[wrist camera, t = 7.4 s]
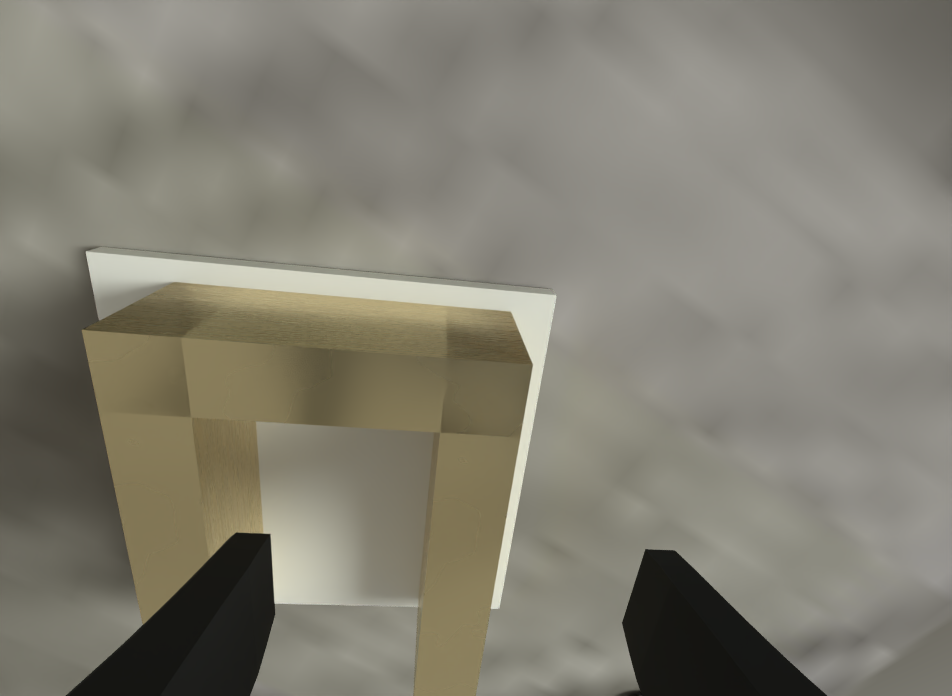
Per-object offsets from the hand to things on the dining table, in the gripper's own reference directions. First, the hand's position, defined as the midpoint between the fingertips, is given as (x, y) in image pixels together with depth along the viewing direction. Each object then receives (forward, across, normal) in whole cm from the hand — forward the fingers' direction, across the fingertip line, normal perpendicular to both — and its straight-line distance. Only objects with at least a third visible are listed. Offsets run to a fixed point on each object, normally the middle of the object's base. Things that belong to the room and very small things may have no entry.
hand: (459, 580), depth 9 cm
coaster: (+6, +4, +2) cm, 7 cm away
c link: (+6, +3, +2) cm, 7 cm away
